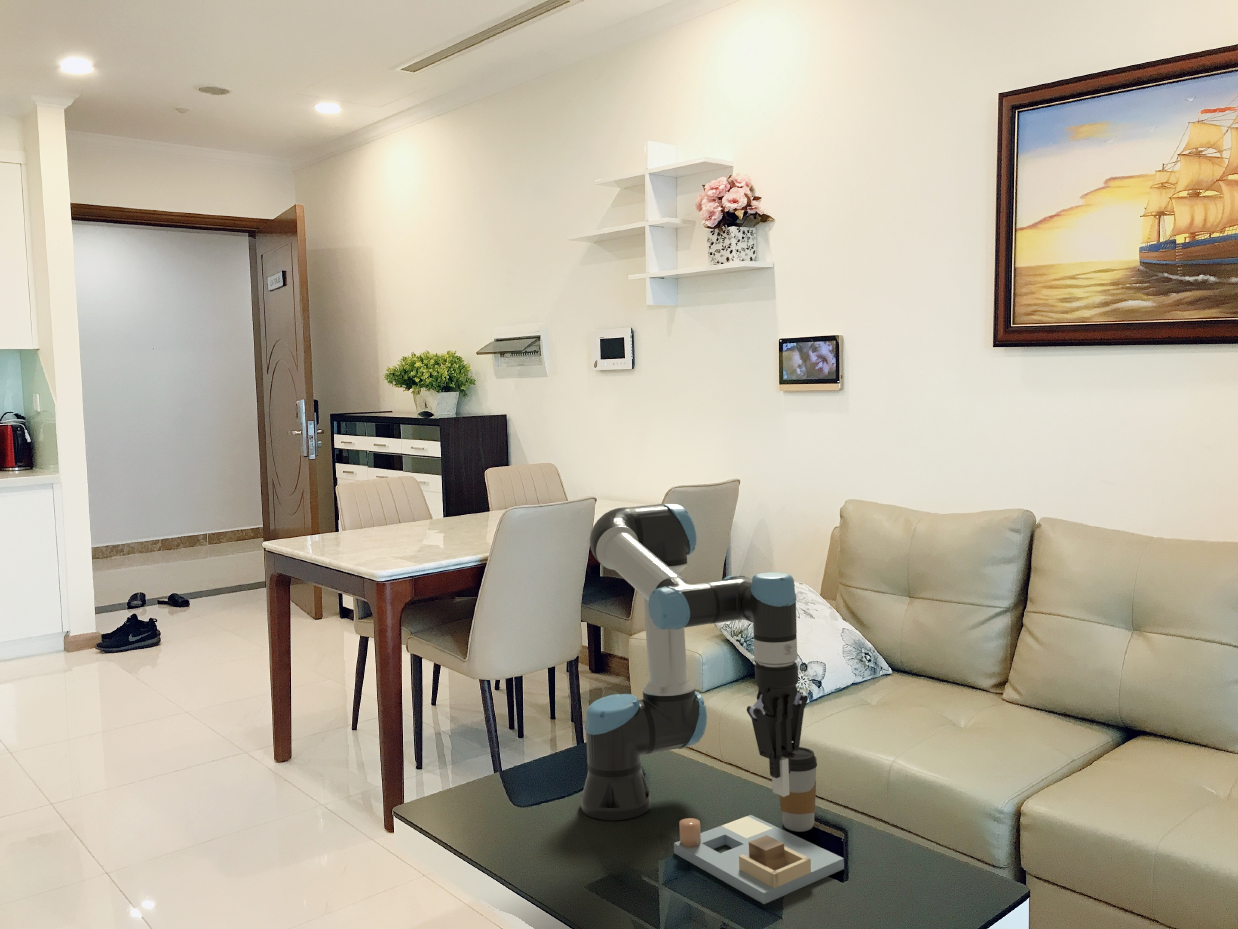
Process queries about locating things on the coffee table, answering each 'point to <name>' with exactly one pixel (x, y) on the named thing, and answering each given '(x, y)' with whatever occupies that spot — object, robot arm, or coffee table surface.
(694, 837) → the beige cylinder
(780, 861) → the walnut cube
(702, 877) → the coffee table surface
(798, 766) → the coffee cup
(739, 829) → the board
